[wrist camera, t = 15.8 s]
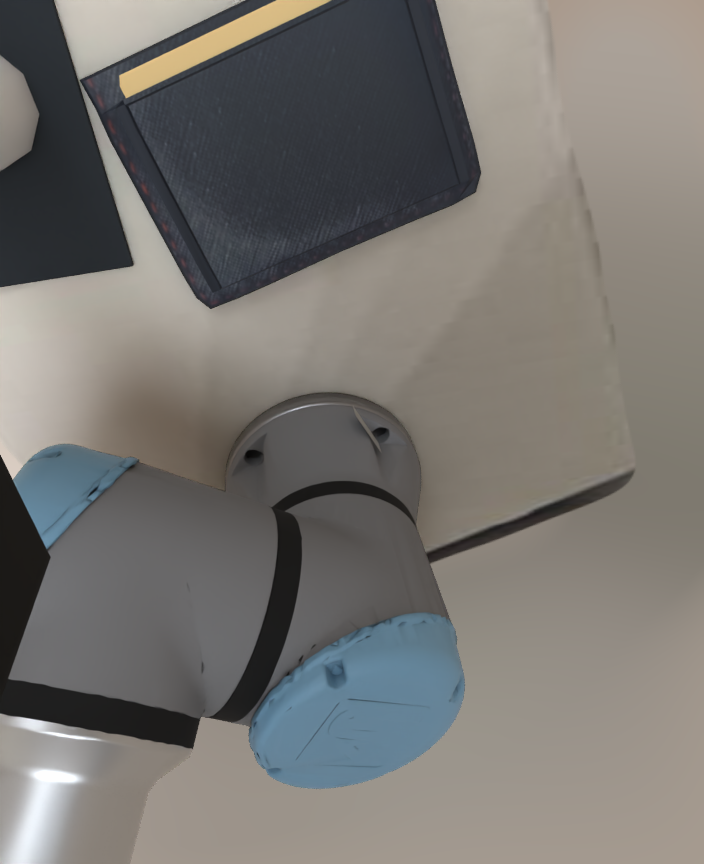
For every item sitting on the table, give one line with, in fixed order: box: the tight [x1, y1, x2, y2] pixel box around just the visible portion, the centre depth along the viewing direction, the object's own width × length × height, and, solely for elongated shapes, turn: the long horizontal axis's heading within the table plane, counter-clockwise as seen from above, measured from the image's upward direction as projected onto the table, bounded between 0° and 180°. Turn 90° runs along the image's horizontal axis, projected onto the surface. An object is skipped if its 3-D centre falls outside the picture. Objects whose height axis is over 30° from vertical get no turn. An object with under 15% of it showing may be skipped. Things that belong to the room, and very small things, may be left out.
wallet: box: [80, 0, 481, 309], centre depth 39 cm, size 20×2×15 cm
